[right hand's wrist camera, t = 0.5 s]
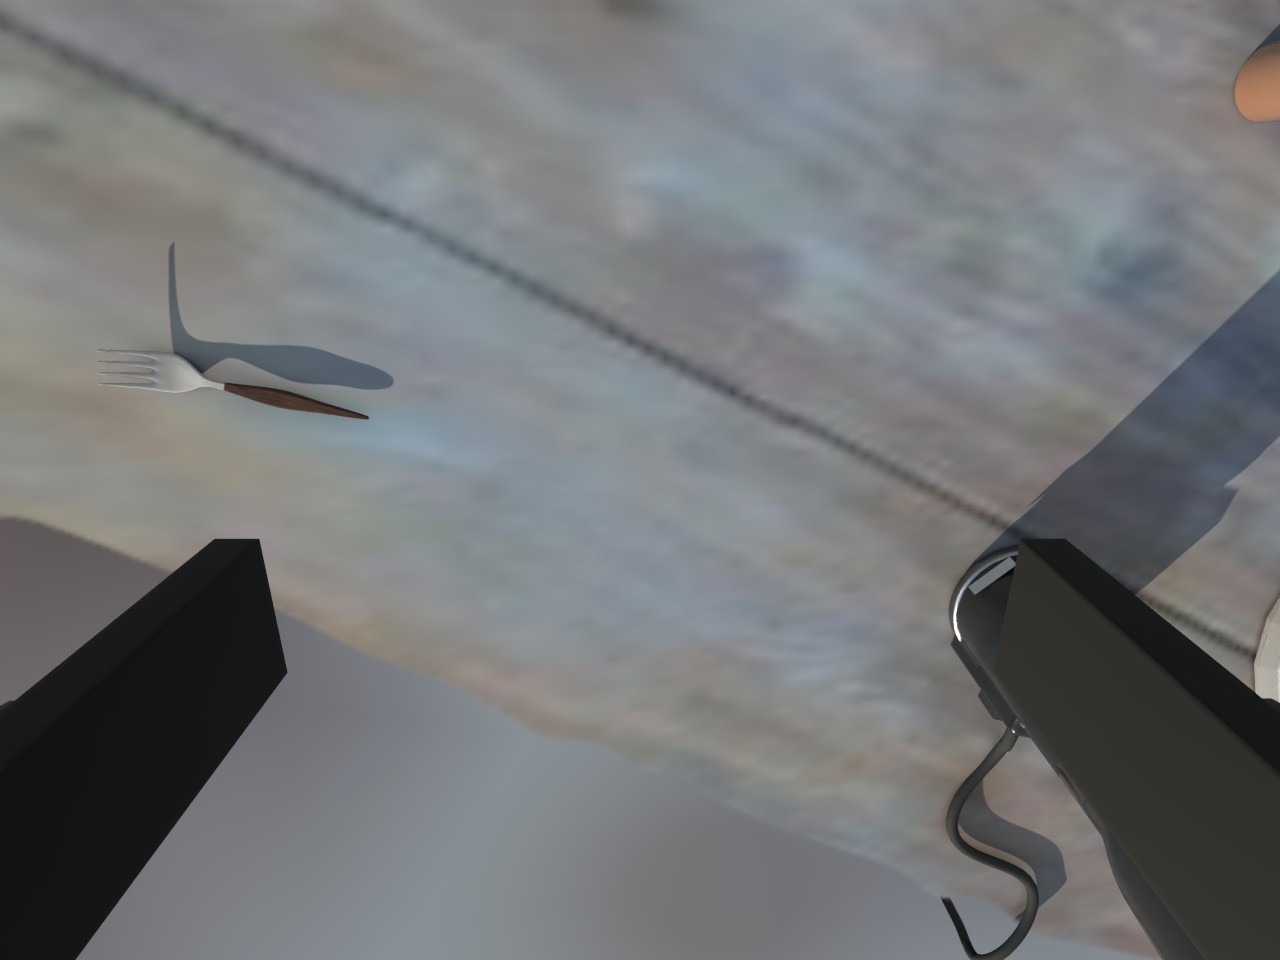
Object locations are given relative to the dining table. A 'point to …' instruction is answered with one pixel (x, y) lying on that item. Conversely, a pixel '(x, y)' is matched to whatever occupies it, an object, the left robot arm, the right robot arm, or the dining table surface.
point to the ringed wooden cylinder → (1260, 85)
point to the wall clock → (1269, 658)
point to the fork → (212, 383)
